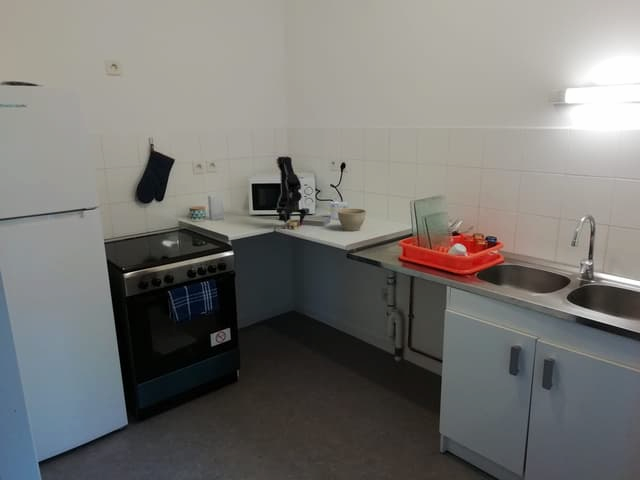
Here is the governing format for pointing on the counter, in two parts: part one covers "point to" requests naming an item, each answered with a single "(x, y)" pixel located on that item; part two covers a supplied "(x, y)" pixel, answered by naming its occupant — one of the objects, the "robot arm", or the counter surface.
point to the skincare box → (215, 207)
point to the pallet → (292, 224)
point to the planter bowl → (351, 218)
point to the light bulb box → (337, 208)
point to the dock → (315, 221)
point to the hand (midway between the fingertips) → (293, 225)
